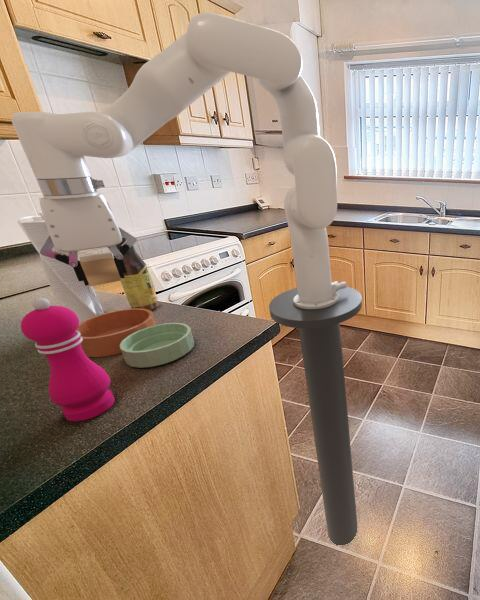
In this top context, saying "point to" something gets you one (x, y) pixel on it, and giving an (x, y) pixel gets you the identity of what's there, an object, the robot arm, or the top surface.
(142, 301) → the sauce bottle
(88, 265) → the beech block
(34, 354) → the top surface
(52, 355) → the pepper mill
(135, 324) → the pan
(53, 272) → the skyscraper
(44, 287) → the top surface
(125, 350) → the dish
